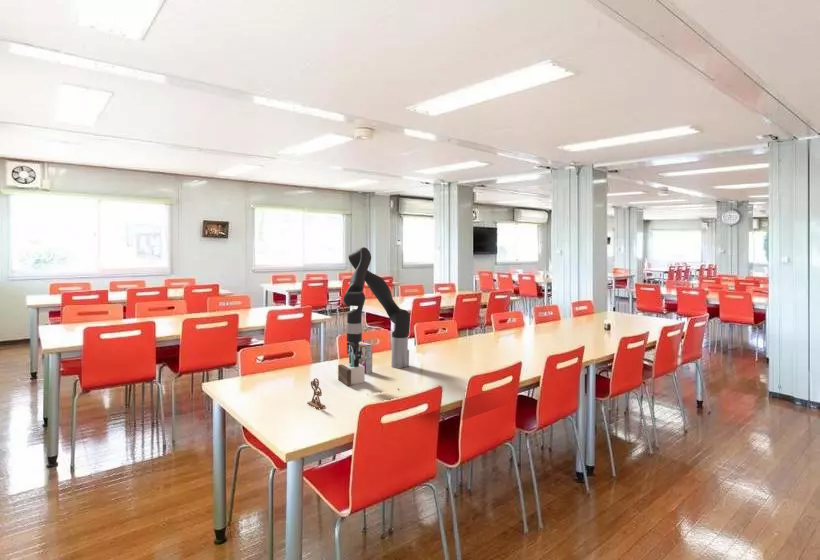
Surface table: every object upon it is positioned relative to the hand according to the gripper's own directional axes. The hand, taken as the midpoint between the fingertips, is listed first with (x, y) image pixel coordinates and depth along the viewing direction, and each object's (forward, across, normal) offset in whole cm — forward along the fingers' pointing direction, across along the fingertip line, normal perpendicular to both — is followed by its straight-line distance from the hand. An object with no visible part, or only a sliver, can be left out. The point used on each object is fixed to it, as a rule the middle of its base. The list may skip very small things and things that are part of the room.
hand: (353, 365), depth 236 cm
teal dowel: (+5, 0, 0) cm, 5 cm away
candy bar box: (+10, -17, +12) cm, 23 cm away
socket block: (+8, 0, 0) cm, 8 cm away
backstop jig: (+10, 0, +7) cm, 12 cm away
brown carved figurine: (+10, +23, -27) cm, 37 cm away
